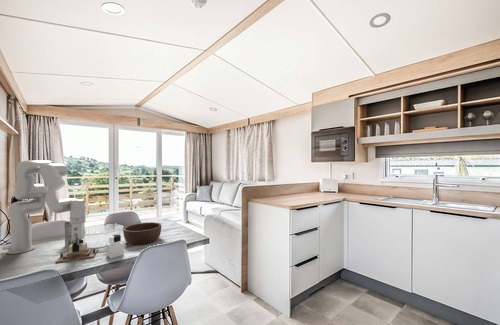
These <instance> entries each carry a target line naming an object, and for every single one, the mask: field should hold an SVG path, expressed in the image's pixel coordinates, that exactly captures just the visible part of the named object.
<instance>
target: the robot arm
mask: <svg viewBox="0 0 500 325" xmlns="http://www.w3.org/2000/svg"><path fill="white" fill-rule="evenodd" d="M15 169H16V170H15V172H16V182H15V188H14V197H15V199H16V200H18V201H16V202H12V203H11V204H10V205H9V206H8V209H7V210H8V214H9V219H10V244H9V245H3V246H2V248H1V249H2V250H3V251H5V250H7V252H6V253H7V254H8V255H17V254H23V253H28V252H31V251H33V250H35V248H36V246H35V245H32V230H33V228H32V220H31V219H30V217H28V216H29V215H34V214H35V215H36V214H39V213H42V212H44V209H45V204H46V205H47V206H48V208H49V210H50V211H51V212H52V213H53V214H61V213H65V212H66V213H67V212H69V221H70V224H72V234H71V238H72V241H73V242H72V252H78V251H79V243H84V242H83V240H82V239H83V238H84V239H85V237H86V226H85V225H86V224H85V223H86V220H87V219H86V217H87V216H86V212H87V211H86V208H87V207H86V206H87V205H86V199H83V198H76V197H75V198H74V197H70V198H63V199H59V198H57V195H56V192H57V191H58V190H60V189H62V188H63V187H64V186H65V185H66V182H65V180H64V178H63V177H65V176H67V175H68V172H69V169H68V167H67V166H66V165H65V164H63V163H61V162H58V161H57V162H56V161H52V160H32V159H31V160H30V159H29V160H23V161H20V162H18V164H16V168H15ZM34 174H35V175H36V174H37V175H40V176H41V177H42V178H41V179H42V180H43V181H44V182H43V183H45V185H46V186H45V185H44V184H43V183H35V182H36V177H35V175H34ZM19 200H21V201H19Z"/></svg>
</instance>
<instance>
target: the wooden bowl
mask: <svg viewBox="0 0 500 325" xmlns="http://www.w3.org/2000/svg"><path fill="white" fill-rule="evenodd" d="M122 232H123V238H124V240H125V243H127V244H129V245H131V246H143V245H149V244H152V243H154V242H156V241H158V239H159V238H160V236H161V233H162V224H161V223H159V222H153V221H152V222H151V221H149V222H147V221H146V222H139V223H138V222H137V223H134V224H130V225H127V226H124V228H122Z"/></svg>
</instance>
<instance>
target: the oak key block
mask: <svg viewBox="0 0 500 325" xmlns="http://www.w3.org/2000/svg"><path fill="white" fill-rule="evenodd" d="M87 249H88V242H83V243H79V251H78V252H72V244H71V245H70V246H68V252H69V256H71V255H78V254H85V253H87Z"/></svg>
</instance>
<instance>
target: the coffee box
mask: <svg viewBox="0 0 500 325" xmlns="http://www.w3.org/2000/svg"><path fill="white" fill-rule="evenodd" d="M71 234H72V224H70V220H69V221H65V222H64V247H69V246H70V245H71V244H72V242H73V241H72V238H71Z"/></svg>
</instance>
